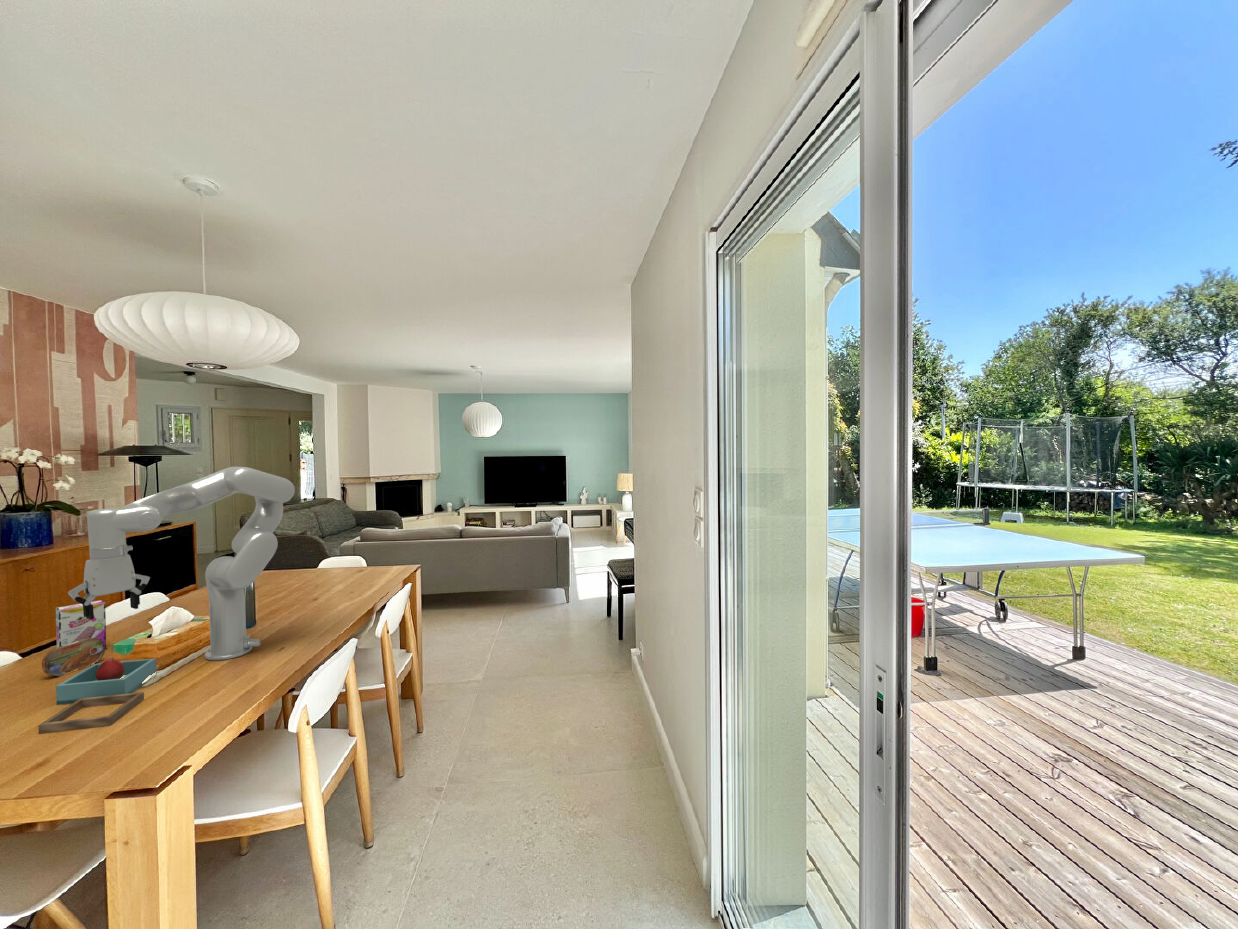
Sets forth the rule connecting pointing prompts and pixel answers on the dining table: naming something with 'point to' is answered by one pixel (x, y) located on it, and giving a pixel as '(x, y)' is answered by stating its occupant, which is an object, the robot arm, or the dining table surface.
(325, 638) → the dining table surface
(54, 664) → the tin
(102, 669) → the onion
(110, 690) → the bin
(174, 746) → the dining table surface
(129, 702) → the frame
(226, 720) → the dining table surface
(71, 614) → the candy bar box
